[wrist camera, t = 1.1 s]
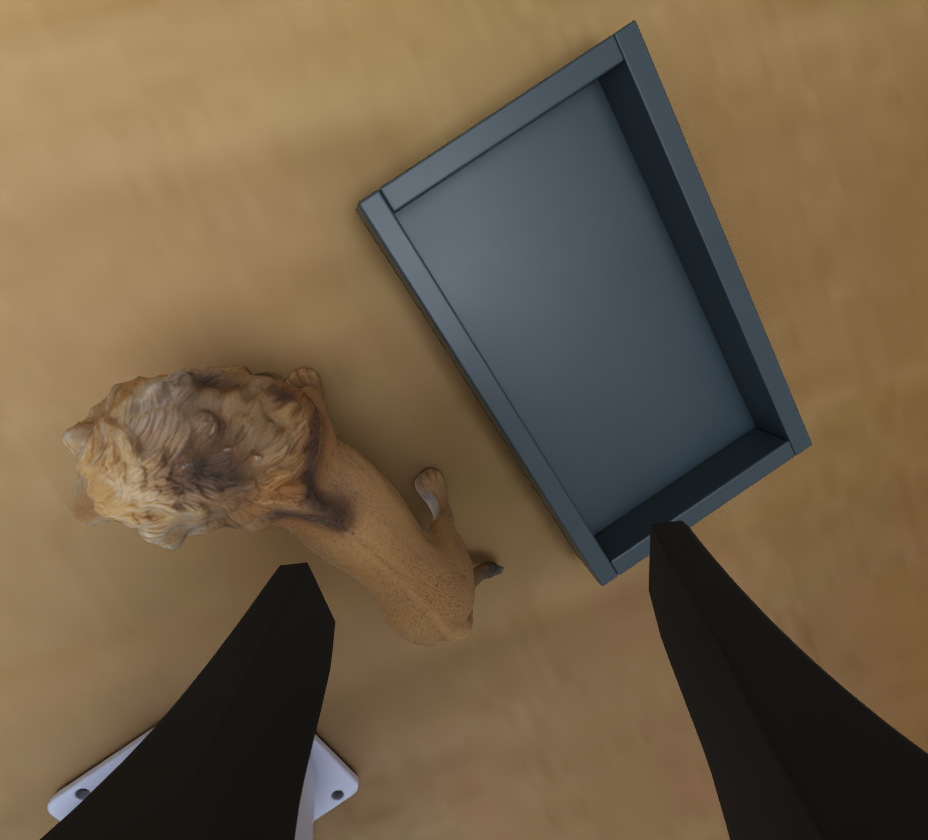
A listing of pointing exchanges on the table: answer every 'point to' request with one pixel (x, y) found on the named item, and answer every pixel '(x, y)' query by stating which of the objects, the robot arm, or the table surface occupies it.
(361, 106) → the table surface
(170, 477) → the lion figurine
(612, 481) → the tray
